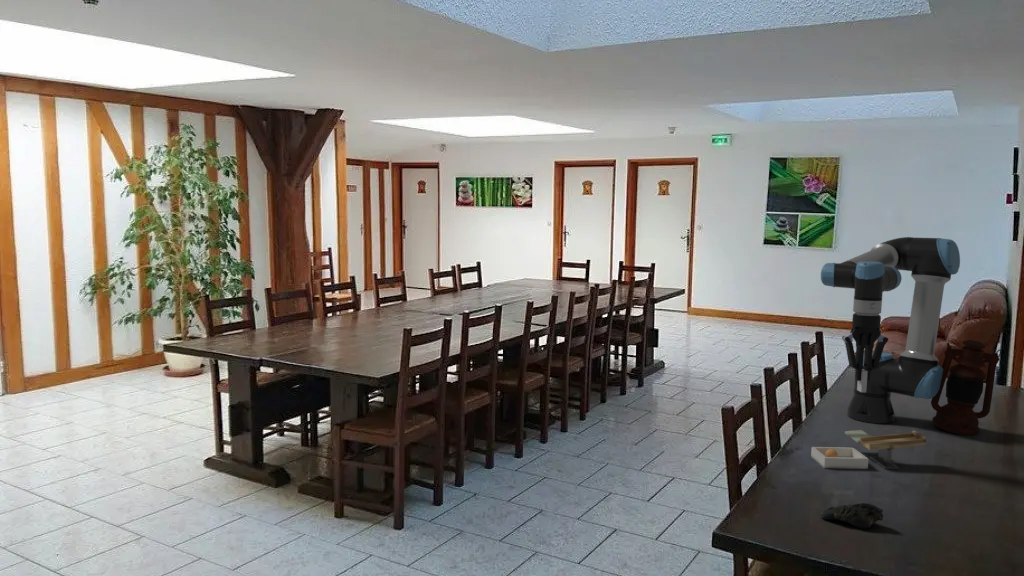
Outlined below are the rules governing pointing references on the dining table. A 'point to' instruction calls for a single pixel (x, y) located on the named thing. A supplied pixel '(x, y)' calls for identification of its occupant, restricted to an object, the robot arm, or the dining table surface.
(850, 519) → the stone
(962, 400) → the lantern
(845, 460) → the dish
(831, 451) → the ball
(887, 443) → the lever
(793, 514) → the dining table surface
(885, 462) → the fulcrum
